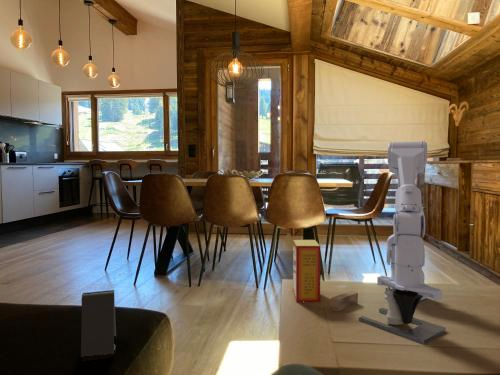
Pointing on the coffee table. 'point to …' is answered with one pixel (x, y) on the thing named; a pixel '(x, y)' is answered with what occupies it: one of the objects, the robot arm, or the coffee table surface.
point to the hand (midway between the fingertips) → (407, 322)
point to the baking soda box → (306, 270)
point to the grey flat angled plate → (418, 334)
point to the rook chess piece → (393, 308)
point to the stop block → (344, 301)
